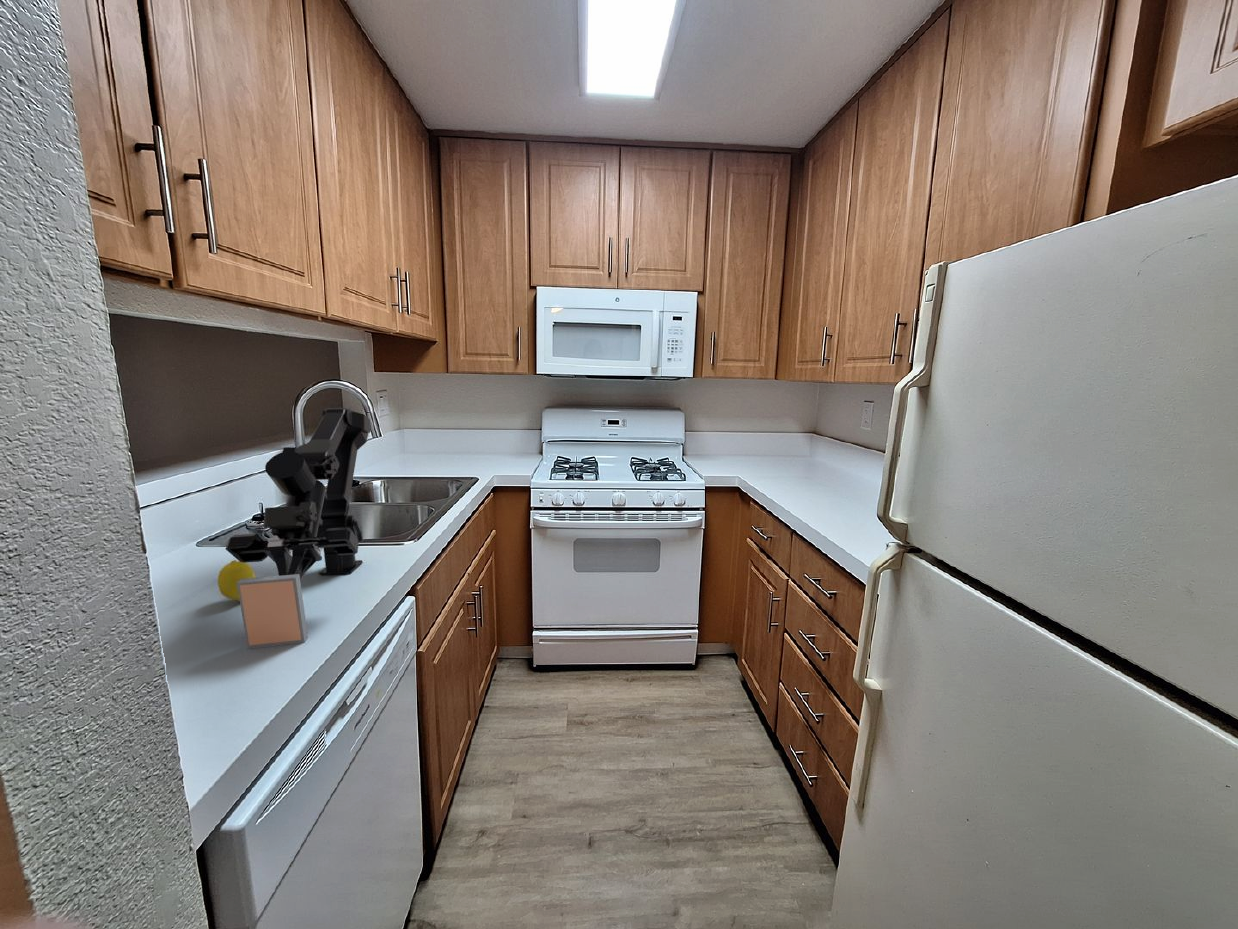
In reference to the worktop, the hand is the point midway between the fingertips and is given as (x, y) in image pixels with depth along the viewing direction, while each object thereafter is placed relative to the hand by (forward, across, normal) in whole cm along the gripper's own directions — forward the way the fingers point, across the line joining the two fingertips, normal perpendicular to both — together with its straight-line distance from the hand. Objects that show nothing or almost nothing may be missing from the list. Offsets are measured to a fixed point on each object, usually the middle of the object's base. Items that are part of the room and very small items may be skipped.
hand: (285, 592), depth 81 cm
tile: (+8, 0, +2) cm, 8 cm away
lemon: (-5, -14, +15) cm, 21 cm away
